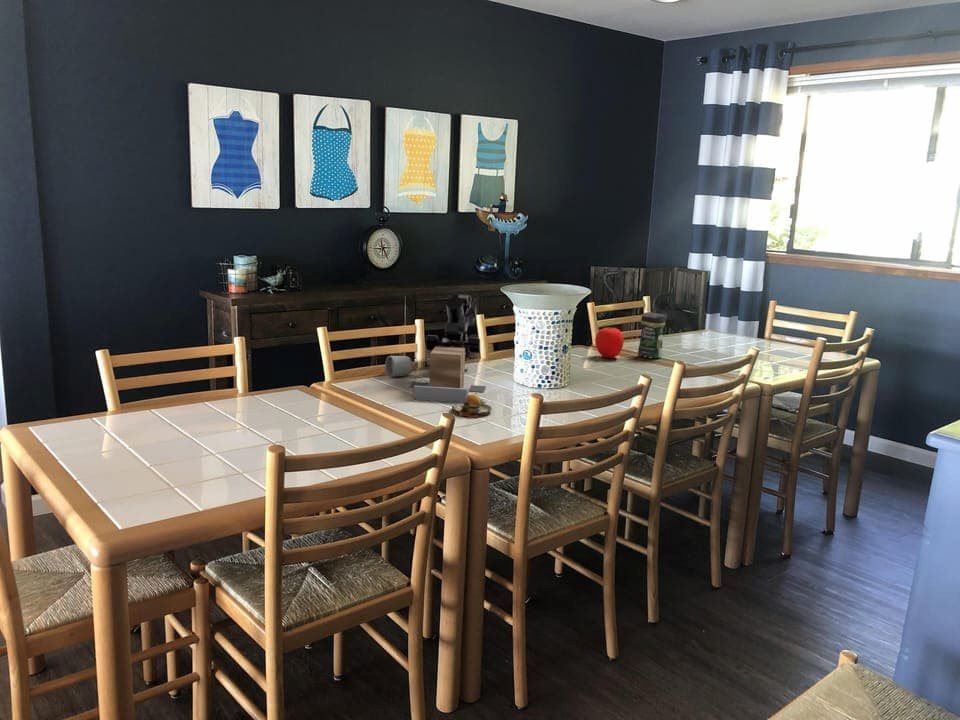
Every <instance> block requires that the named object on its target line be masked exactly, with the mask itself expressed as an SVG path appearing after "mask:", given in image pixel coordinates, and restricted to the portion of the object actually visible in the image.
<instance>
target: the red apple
mask: <svg viewBox="0 0 960 720" xmlns="http://www.w3.org/2000/svg"><path fill="white" fill-rule="evenodd" d="M623 336H624V334H623V333H622V331H621V330H620V329H618V328H616V327H611V326H608V327H603V328H602V329H600V330H598V332H597V333H596V335H595V340H594V342H595V347H596V350H597V352H598V353H599V355H600V356H602V357H604V358H607V359H608V358H609V359H614V358H616V357H618V356H620V353H621V352H622V349H623V347H624V341H625V340H624V337H623Z"/></svg>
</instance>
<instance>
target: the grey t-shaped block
mask: <svg viewBox="0 0 960 720" xmlns="http://www.w3.org/2000/svg"><path fill="white" fill-rule="evenodd" d="M469 389H470V388H469ZM469 389H468V388H464V387H463V388H449V387H433V386H429V385H428V386H427V385H426V386H417V385H415V386H414V388H413V399H414V400H424V401H425V400H426V401H440V402H441V401H442V402H443V401H444V402H457V403H464V402H467V401H466V398H467V396H468V395H470V394H469V393H470V392H469Z"/></svg>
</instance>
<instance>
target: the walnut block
mask: <svg viewBox="0 0 960 720" xmlns="http://www.w3.org/2000/svg"><path fill="white" fill-rule="evenodd" d="M430 351H431V352H430V353H429V383H428V384H429V385H428V386H433V387H449V388H464V386H465V372H464V369H466V368H465V364H466V362H465V361H466V356H465V348H458V347H442V346H435V348H434V349H433V350H430Z"/></svg>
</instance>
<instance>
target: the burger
mask: <svg viewBox="0 0 960 720" xmlns="http://www.w3.org/2000/svg"><path fill="white" fill-rule="evenodd" d="M466 401H467V402H458V403H457V404H454V405H452V407H451V412H452V413H453V414H455V415H456V416H458V417H462V416H463V417H464V416H465V417H467V418H470V419H472V418H477V419H478V418H486V417H489V416H491V411H492V409H493V408H492V406H490V405H488V404H486V403H487V401H484V399H481V398H480V396H479V395H477V392H474V393H470V394H469V395H468V396H467V398H466Z"/></svg>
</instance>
